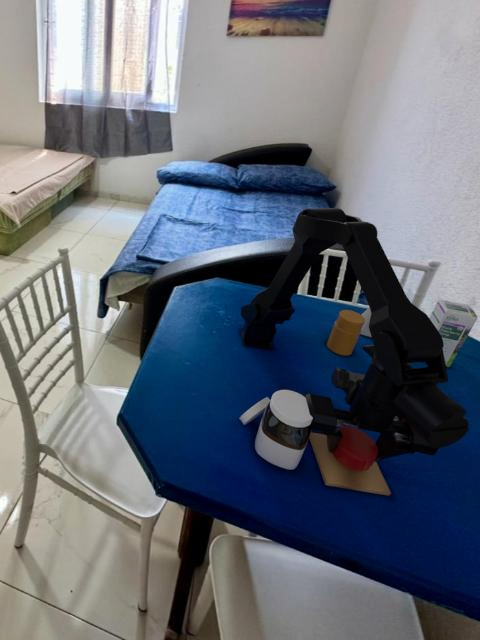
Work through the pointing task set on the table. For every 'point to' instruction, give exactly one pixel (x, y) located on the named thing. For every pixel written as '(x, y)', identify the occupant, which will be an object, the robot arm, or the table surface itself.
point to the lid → (355, 449)
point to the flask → (366, 323)
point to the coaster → (346, 471)
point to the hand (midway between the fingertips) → (350, 454)
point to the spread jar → (281, 428)
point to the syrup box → (452, 326)
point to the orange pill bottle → (345, 332)
